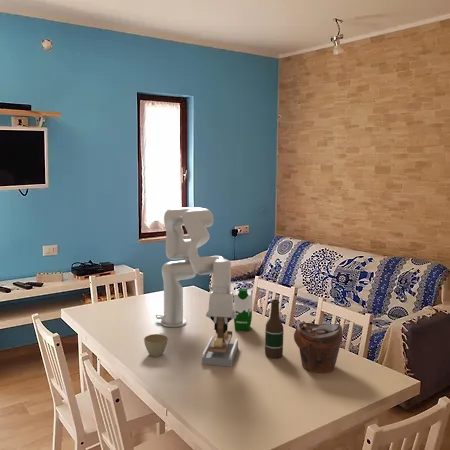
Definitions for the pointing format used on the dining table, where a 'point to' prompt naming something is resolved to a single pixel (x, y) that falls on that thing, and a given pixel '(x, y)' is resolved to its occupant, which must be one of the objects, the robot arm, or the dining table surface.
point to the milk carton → (243, 309)
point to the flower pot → (155, 344)
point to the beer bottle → (274, 333)
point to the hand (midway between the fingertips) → (220, 331)
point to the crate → (218, 342)
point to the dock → (220, 355)
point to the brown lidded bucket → (318, 345)
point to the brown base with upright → (220, 335)
